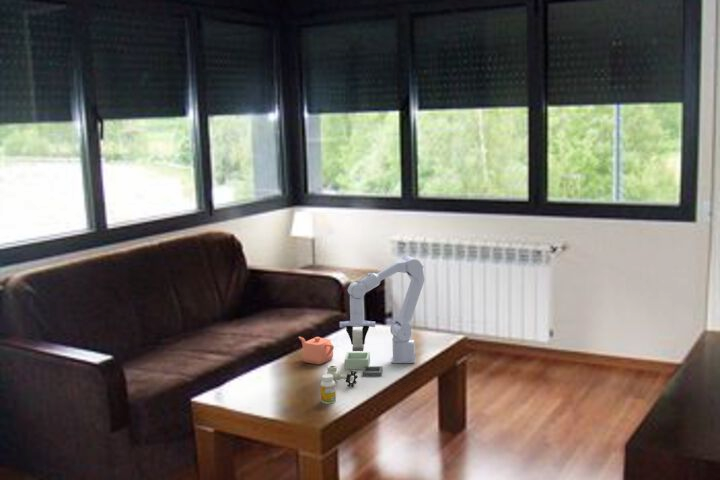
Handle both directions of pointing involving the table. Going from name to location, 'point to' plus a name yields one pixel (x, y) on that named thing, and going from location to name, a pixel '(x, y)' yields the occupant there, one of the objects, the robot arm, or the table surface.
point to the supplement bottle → (328, 389)
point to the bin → (357, 360)
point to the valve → (338, 375)
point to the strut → (357, 340)
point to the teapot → (317, 350)
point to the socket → (372, 368)
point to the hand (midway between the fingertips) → (358, 343)
